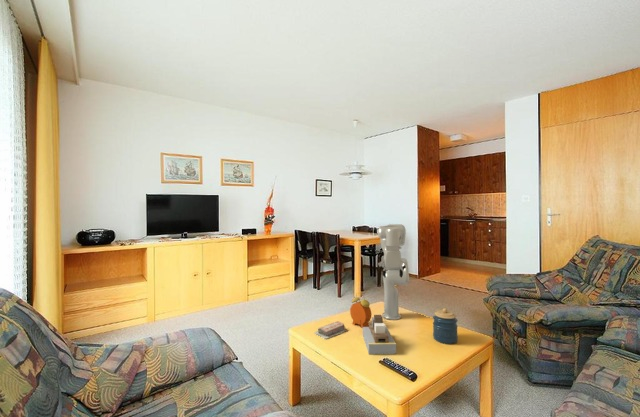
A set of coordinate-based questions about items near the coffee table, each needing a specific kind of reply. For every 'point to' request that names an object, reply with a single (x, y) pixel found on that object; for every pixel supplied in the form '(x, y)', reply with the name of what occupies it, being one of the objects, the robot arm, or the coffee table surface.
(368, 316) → the alarm clock
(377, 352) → the dock
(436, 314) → the canister
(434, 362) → the coffee table surface
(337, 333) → the packaged product
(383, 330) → the block
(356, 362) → the coffee table surface
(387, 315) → the robot arm
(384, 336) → the brown open frame
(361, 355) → the coffee table surface
